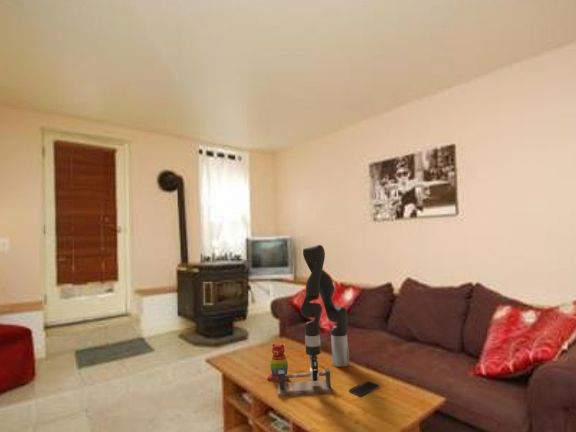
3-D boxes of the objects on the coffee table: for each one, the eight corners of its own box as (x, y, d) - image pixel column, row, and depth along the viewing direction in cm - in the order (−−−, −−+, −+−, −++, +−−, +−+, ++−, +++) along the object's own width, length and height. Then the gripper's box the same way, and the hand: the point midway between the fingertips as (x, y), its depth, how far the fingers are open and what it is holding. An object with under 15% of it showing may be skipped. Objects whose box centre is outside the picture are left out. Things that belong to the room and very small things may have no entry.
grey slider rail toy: (328, 382, 179) (327, 364, 180) (332, 393, 167) (331, 373, 168) (277, 386, 178) (277, 367, 178) (278, 397, 166) (277, 377, 166)
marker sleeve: (317, 377, 176) (317, 367, 176) (319, 381, 171) (318, 371, 171) (310, 377, 176) (309, 367, 176) (311, 382, 171) (310, 371, 171)
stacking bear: (266, 380, 186) (264, 346, 187) (274, 373, 195) (273, 340, 196) (284, 383, 181) (282, 348, 182) (292, 375, 190) (291, 342, 191)
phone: (347, 390, 168) (367, 380, 178) (348, 392, 168) (367, 383, 178) (360, 395, 162) (380, 385, 172) (361, 398, 162) (380, 387, 172)
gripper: (322, 347, 167) (324, 384, 166) (318, 338, 181) (320, 372, 181) (306, 348, 167) (308, 385, 166) (304, 339, 181) (305, 373, 180)
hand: (314, 378), depth 173 cm, fingers closed on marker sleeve, 5 cm apart
